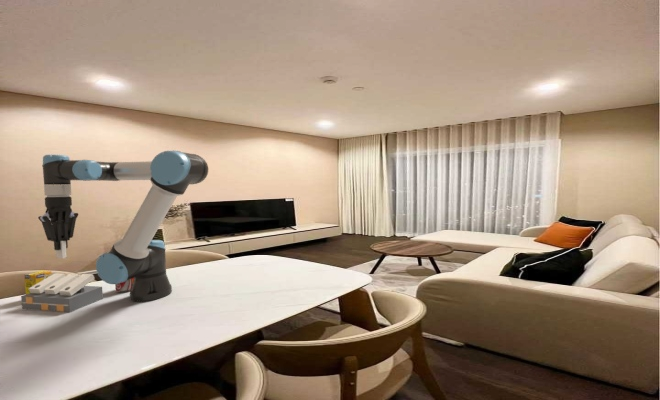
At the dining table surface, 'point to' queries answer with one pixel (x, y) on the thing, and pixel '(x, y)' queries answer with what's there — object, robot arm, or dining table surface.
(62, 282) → the rocker
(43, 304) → the switch unit
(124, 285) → the beverage can
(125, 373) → the dining table surface
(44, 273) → the supplement box
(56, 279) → the rocker
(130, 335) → the dining table surface
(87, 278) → the rocker
